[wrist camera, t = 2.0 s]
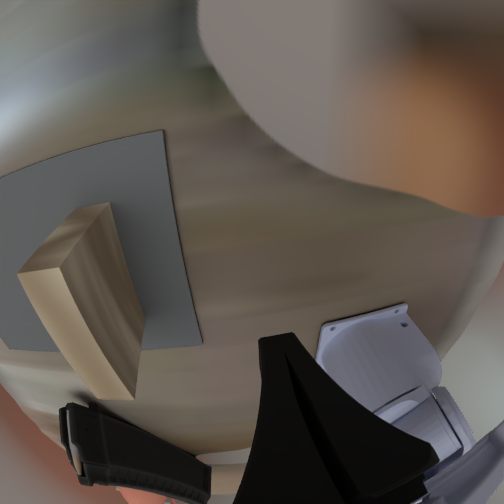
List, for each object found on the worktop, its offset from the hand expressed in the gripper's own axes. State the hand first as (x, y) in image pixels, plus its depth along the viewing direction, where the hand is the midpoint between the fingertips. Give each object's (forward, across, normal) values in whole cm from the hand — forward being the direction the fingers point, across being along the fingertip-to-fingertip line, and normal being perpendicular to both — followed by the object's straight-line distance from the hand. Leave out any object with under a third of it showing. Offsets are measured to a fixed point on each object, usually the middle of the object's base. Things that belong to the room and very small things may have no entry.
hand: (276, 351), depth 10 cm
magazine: (+9, +16, +29) cm, 34 cm away
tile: (+8, +9, 0) cm, 12 cm away
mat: (+8, +15, 0) cm, 17 cm away
